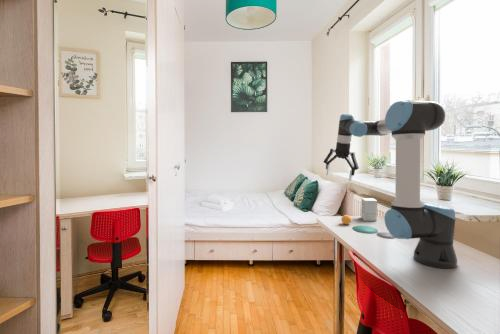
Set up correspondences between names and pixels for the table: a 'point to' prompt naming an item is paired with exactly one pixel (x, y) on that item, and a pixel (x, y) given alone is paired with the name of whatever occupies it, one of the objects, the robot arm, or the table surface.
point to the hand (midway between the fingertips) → (338, 177)
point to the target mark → (365, 229)
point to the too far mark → (385, 235)
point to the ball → (346, 219)
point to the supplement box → (369, 209)
